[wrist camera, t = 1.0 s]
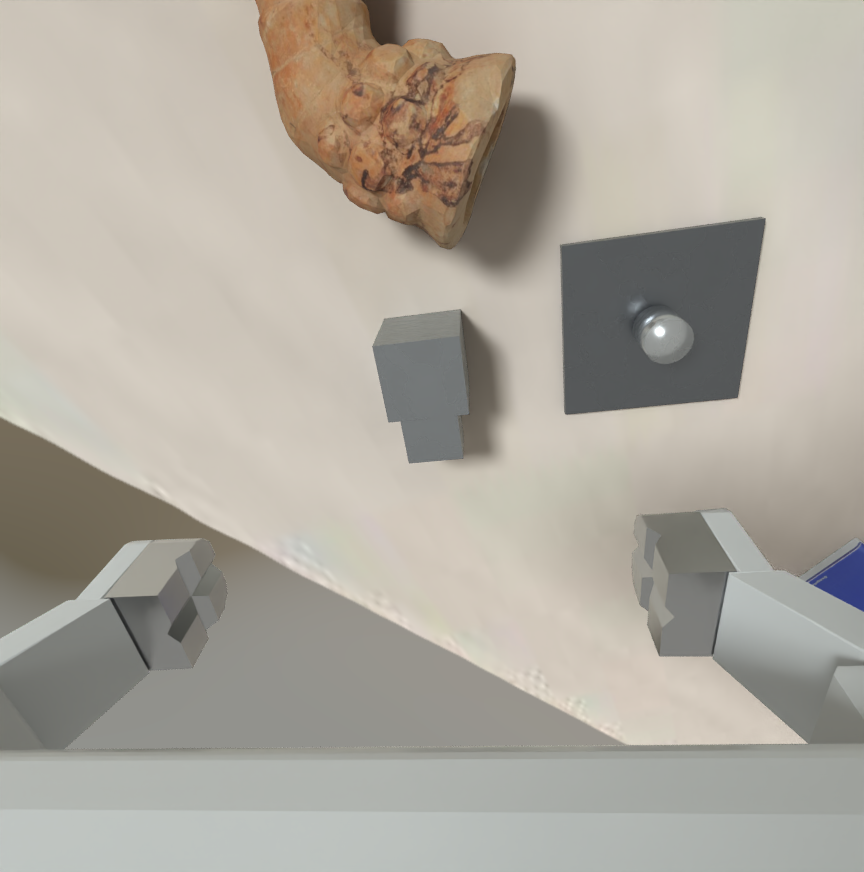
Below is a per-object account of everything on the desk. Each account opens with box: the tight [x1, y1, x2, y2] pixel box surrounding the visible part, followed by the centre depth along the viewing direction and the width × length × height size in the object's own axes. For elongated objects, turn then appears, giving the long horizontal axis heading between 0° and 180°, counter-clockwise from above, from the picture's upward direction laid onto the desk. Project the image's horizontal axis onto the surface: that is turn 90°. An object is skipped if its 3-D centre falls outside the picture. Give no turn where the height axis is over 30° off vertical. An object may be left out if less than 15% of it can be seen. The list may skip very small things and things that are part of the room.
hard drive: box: [798, 538, 864, 612], centre depth 54 cm, size 2×8×12 cm
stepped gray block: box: [372, 309, 469, 463], centre depth 42 cm, size 10×6×6 cm, turn 8°
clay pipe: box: [255, 0, 516, 249], centre depth 32 cm, size 19×11×15 cm
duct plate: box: [560, 217, 766, 414], centre depth 40 cm, size 14×14×4 cm
